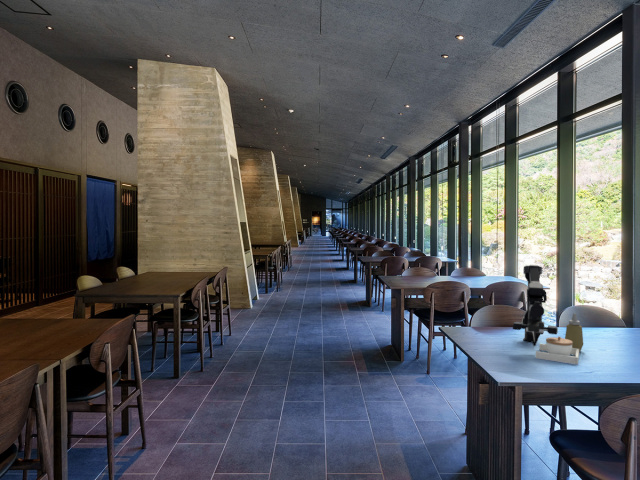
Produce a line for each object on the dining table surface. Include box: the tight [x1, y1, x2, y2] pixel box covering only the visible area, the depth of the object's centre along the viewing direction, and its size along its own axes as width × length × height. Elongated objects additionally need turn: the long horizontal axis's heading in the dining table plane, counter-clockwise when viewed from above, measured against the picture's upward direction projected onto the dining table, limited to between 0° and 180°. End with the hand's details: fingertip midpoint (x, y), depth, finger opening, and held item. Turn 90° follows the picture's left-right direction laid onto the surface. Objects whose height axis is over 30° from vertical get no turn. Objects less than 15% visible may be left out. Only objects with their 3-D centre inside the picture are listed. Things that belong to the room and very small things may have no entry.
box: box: [535, 343, 580, 366], centre depth 199 cm, size 17×16×3 cm
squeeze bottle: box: [564, 312, 584, 352], centre depth 210 cm, size 8×8×18 cm
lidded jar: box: [545, 336, 573, 356], centre depth 199 cm, size 11×11×9 cm
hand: (534, 345), depth 205 cm, fingers closed
